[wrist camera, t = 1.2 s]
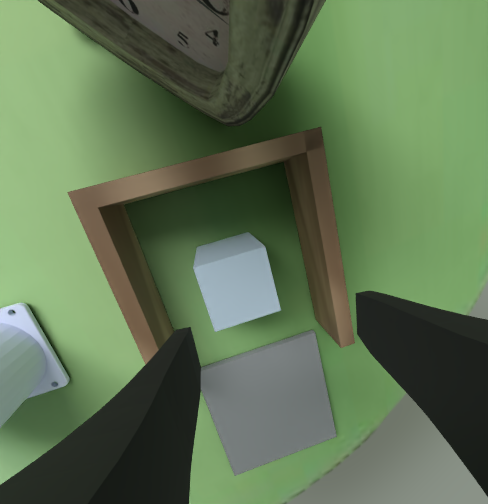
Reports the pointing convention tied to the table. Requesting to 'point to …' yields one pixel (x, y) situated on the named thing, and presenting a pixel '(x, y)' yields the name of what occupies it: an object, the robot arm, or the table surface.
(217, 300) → the block
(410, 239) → the table surface
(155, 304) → the brown u-shaped frame
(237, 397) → the pad
